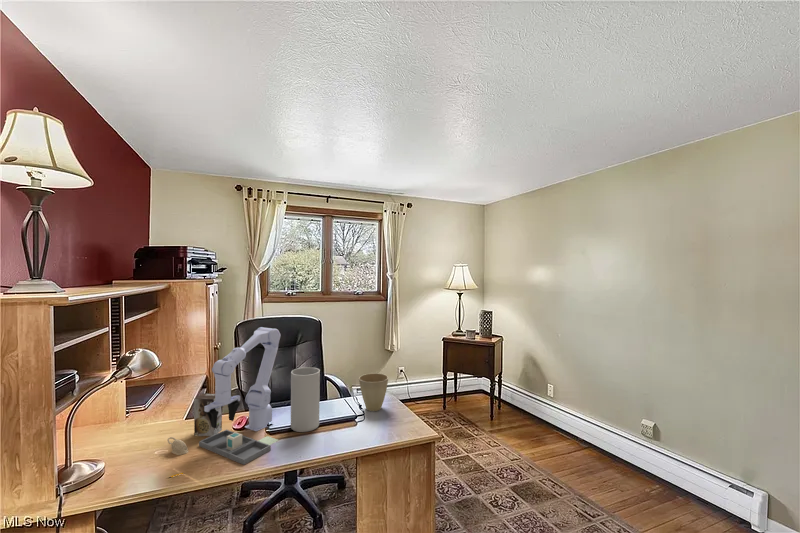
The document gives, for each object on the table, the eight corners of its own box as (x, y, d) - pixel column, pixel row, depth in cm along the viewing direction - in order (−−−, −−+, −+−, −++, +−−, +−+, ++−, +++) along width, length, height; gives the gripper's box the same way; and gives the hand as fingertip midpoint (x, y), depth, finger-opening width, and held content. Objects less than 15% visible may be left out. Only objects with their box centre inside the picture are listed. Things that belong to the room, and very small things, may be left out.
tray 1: (226, 434, 156) (226, 429, 156) (240, 439, 152) (240, 434, 152) (198, 446, 146) (198, 441, 146) (212, 452, 141) (212, 447, 141)
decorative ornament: (179, 457, 137) (179, 443, 137) (165, 452, 141) (165, 438, 141) (189, 452, 141) (189, 439, 141) (175, 447, 145) (176, 434, 145)
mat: (267, 436, 155) (267, 436, 155) (279, 441, 151) (279, 440, 151) (253, 443, 148) (253, 442, 148) (265, 448, 145) (265, 447, 145)
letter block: (235, 444, 147) (235, 431, 147) (242, 447, 145) (242, 434, 145) (226, 449, 143) (226, 435, 143) (232, 451, 141) (233, 438, 141)
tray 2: (240, 439, 152) (240, 434, 152) (254, 445, 147) (255, 439, 147) (213, 452, 141) (213, 447, 141) (227, 459, 137) (227, 453, 137)
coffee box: (222, 430, 160) (222, 393, 160) (213, 437, 154) (214, 399, 154) (203, 429, 161) (203, 392, 161) (193, 436, 155) (193, 398, 155)
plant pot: (376, 400, 197) (376, 371, 197) (393, 409, 185) (394, 378, 185) (352, 407, 187) (353, 376, 187) (369, 417, 176) (370, 384, 176)
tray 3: (255, 445, 147) (255, 439, 147) (270, 451, 143) (270, 445, 143) (228, 459, 137) (228, 453, 137) (243, 465, 132) (243, 459, 132)
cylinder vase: (290, 422, 169) (290, 368, 169) (318, 419, 173) (318, 366, 173) (290, 434, 157) (291, 376, 157) (320, 430, 161) (321, 374, 161)
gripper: (233, 383, 156) (232, 415, 156) (199, 393, 143) (199, 428, 144) (243, 386, 152) (243, 418, 152) (210, 396, 140) (210, 432, 140)
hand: (222, 423), depth 148 cm, fingers open, 7 cm apart
